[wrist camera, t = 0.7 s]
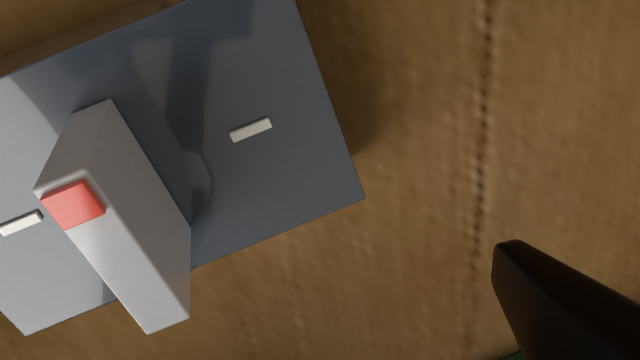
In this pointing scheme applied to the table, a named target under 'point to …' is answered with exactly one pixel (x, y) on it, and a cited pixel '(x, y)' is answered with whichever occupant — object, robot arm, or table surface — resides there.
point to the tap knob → (119, 215)
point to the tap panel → (170, 136)
